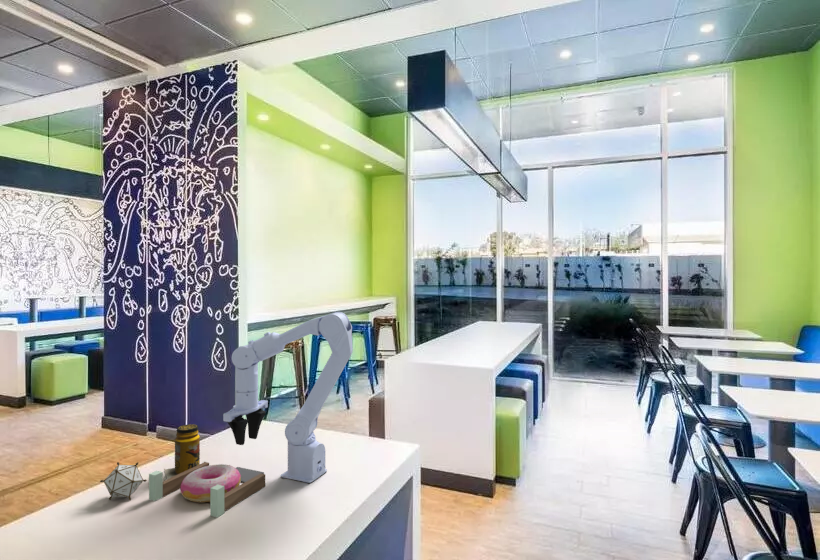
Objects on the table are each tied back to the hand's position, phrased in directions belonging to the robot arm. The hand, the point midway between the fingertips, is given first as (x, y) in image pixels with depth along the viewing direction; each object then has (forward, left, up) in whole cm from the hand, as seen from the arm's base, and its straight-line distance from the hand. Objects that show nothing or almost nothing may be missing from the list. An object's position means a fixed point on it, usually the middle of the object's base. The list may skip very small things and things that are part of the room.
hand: (246, 441), depth 122 cm
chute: (0, +12, -8) cm, 14 cm away
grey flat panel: (0, +2, -8) cm, 9 cm away
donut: (0, +12, -9) cm, 15 cm away
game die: (+17, +22, -9) cm, 29 cm away
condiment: (+16, +6, -9) cm, 19 cm away
